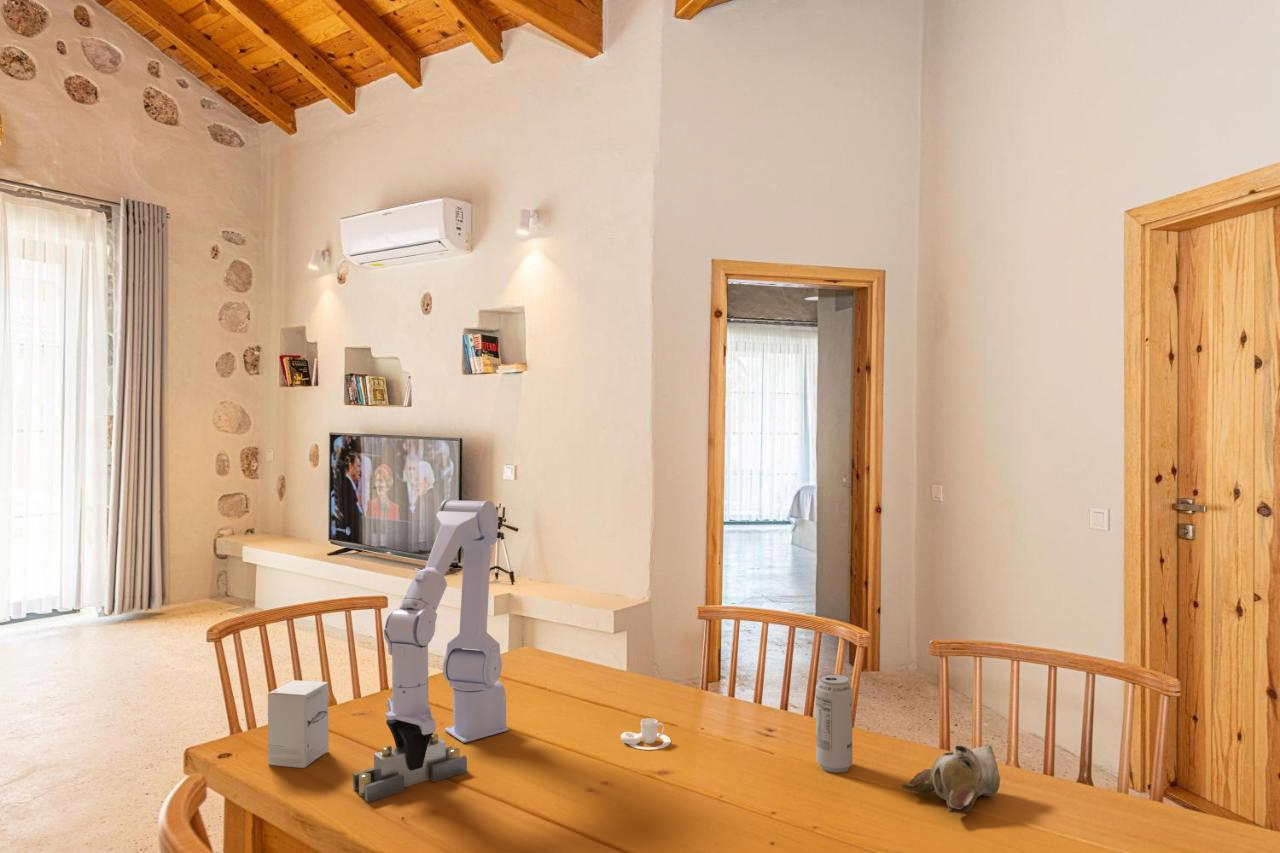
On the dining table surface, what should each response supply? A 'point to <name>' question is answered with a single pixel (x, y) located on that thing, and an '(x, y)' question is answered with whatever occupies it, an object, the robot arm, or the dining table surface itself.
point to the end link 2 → (449, 765)
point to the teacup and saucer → (646, 735)
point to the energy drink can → (834, 723)
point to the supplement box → (297, 723)
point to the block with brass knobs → (396, 762)
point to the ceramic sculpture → (959, 777)
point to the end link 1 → (376, 785)
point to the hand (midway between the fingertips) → (411, 764)
